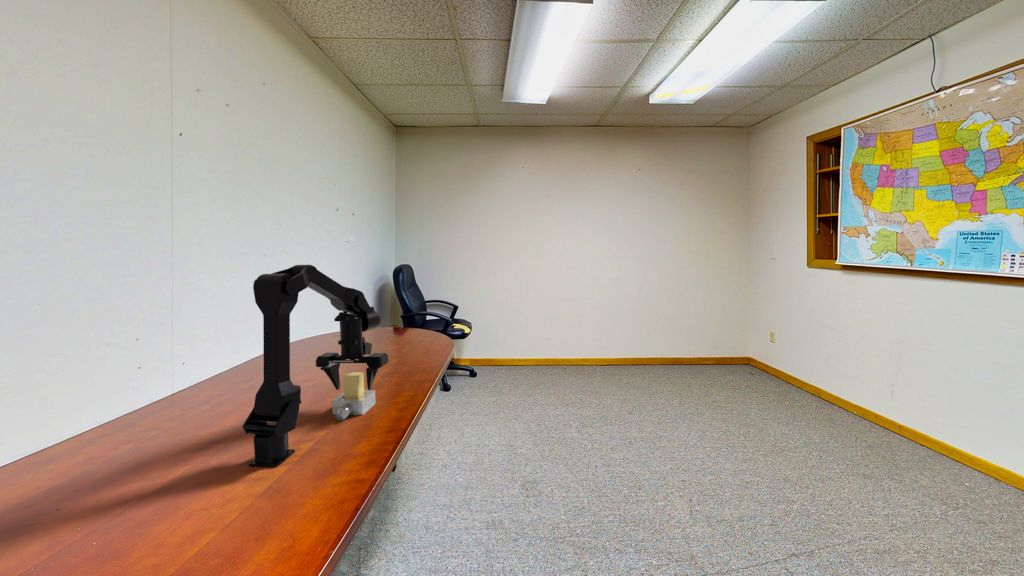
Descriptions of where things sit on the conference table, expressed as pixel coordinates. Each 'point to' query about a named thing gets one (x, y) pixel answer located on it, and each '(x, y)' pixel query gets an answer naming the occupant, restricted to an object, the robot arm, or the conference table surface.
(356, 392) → the butter yellow block
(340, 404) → the bracket head
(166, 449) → the conference table surface
